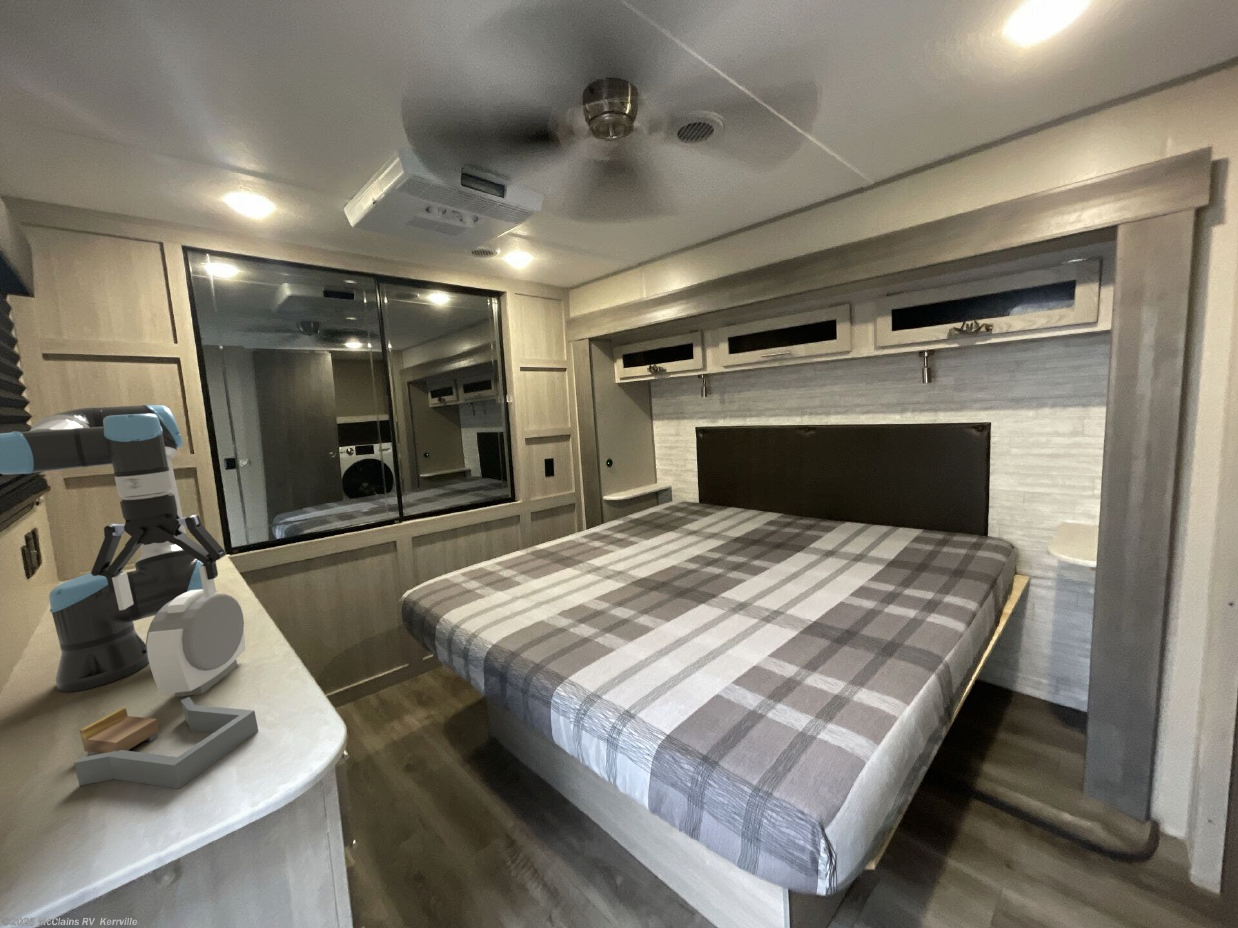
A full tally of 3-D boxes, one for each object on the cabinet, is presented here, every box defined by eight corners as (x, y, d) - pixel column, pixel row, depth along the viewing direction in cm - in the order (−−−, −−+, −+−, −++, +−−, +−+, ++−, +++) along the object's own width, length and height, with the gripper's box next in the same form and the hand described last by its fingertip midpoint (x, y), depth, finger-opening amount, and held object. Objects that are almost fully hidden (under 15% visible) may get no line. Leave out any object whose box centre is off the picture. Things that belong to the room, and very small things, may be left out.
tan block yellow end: (85, 756, 83) (79, 729, 83) (127, 732, 89) (121, 707, 88) (120, 760, 81) (113, 733, 81) (160, 736, 87) (154, 710, 87)
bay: (77, 785, 76) (71, 762, 76) (191, 715, 92) (186, 696, 92) (165, 798, 72) (160, 774, 72) (268, 723, 88) (264, 703, 88)
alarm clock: (218, 660, 113) (202, 579, 111) (256, 656, 114) (241, 575, 111) (151, 709, 96) (130, 613, 93) (196, 704, 96) (177, 608, 94)
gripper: (46, 507, 84) (73, 621, 87) (215, 491, 91) (235, 597, 94) (79, 499, 91) (104, 604, 94) (233, 484, 98) (251, 583, 101)
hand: (169, 601), depth 94 cm, fingers open, 13 cm apart
